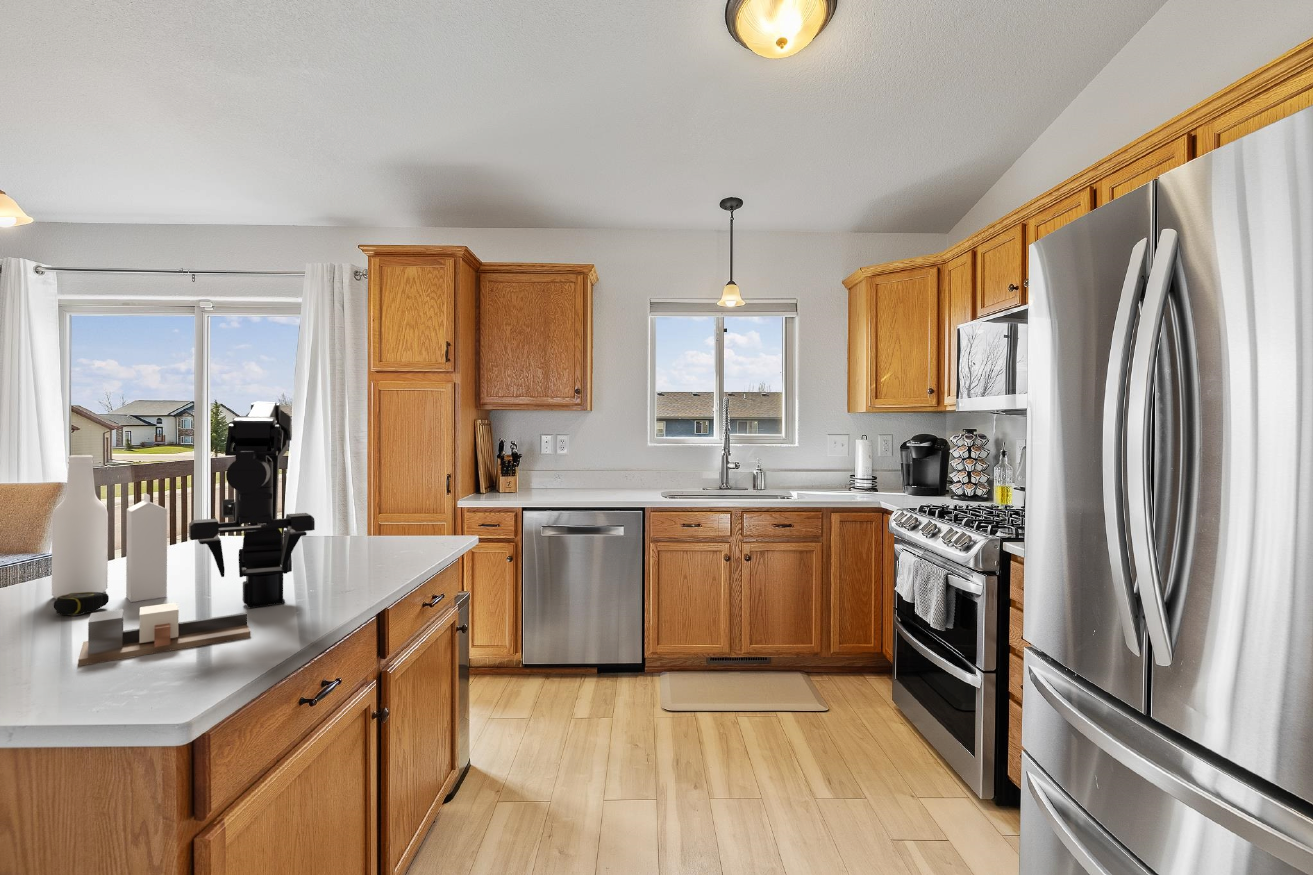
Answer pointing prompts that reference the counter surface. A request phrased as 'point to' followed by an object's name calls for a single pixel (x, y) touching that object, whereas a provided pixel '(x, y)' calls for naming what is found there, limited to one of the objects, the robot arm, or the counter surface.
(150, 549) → the milk
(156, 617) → the sleeve
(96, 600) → the tape measure
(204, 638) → the board
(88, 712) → the counter surface
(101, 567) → the alcohol
